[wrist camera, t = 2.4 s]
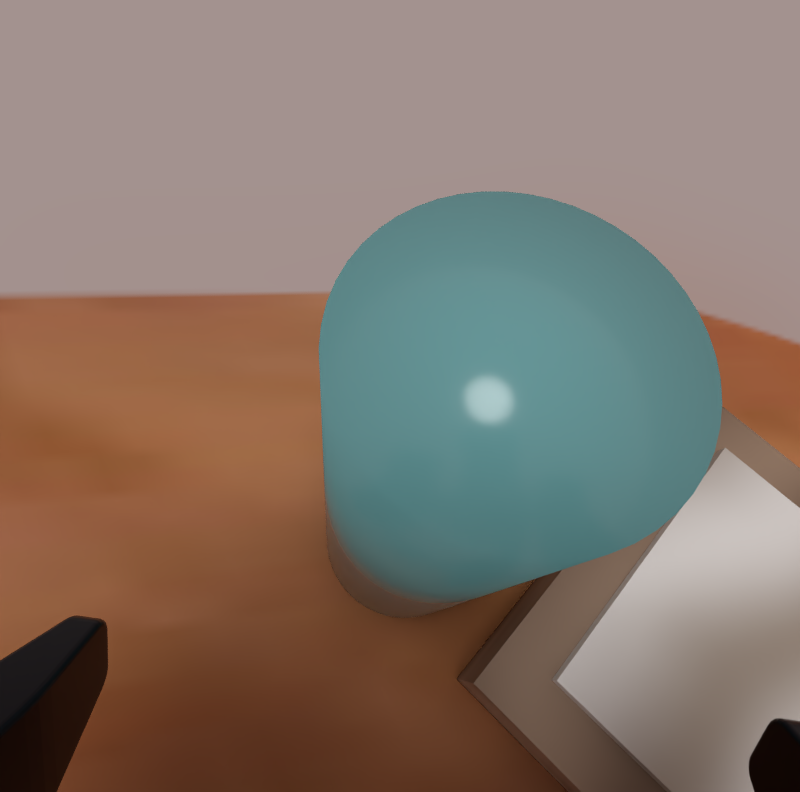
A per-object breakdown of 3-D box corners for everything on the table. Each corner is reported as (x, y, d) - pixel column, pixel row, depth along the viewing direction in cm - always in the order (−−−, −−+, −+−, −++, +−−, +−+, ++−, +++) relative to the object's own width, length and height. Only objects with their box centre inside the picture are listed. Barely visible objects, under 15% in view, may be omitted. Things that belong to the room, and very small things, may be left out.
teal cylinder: (510, 533, 20) (791, 357, 8) (408, 654, 18) (566, 671, 6) (400, 432, 21) (497, 135, 9) (293, 537, 19) (228, 346, 7)
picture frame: (962, 657, 20) (1054, 659, 17) (802, 1028, 15) (893, 1102, 13) (666, 415, 22) (709, 385, 19) (456, 678, 18) (477, 684, 15)
